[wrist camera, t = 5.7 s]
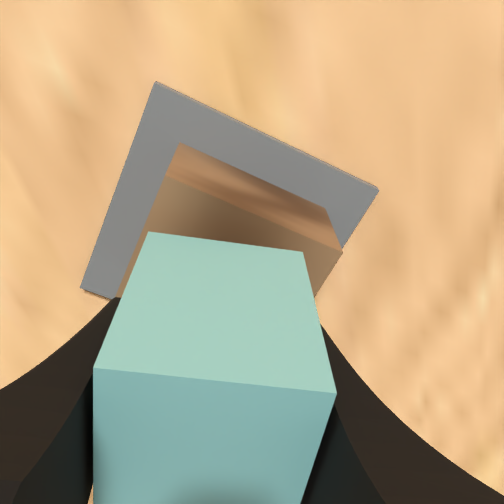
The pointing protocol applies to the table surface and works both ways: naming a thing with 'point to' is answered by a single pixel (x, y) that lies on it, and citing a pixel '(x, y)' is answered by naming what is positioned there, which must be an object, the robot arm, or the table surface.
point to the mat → (224, 149)
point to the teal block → (210, 378)
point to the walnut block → (238, 213)
